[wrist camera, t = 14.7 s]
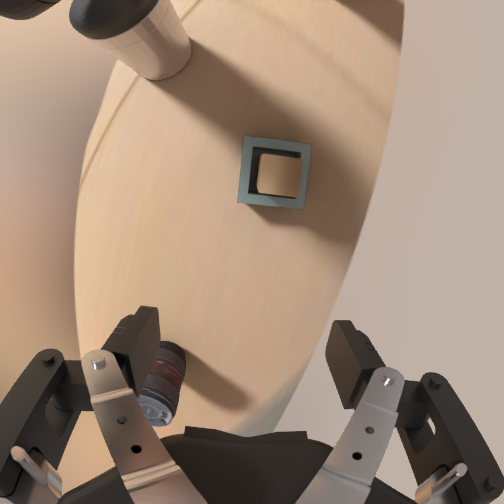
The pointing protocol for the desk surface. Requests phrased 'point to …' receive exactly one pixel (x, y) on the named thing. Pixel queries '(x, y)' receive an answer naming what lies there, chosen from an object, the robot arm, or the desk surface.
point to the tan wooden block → (279, 175)
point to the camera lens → (163, 384)
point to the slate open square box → (249, 171)
